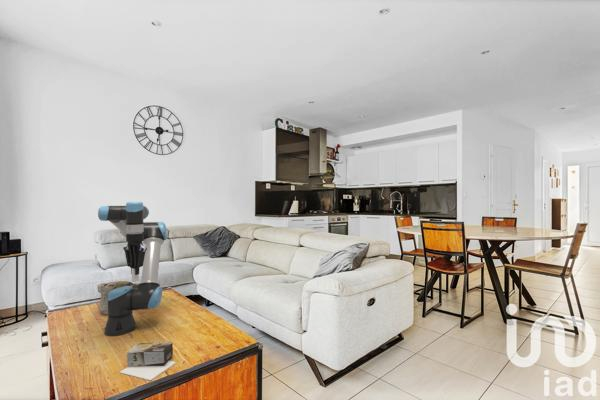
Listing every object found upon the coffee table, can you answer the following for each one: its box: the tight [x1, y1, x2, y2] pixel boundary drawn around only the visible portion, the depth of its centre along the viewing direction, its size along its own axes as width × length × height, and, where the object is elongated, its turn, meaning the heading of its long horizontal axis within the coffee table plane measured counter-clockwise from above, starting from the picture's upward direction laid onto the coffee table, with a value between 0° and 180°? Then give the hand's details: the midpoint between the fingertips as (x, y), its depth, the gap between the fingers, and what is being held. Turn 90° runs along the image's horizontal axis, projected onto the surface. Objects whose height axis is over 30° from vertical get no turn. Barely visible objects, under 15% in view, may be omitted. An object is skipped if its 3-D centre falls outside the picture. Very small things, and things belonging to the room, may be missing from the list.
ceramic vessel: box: [96, 280, 139, 316], centre depth 198 cm, size 23×24×25 cm
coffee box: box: [126, 342, 174, 367], centre depth 134 cm, size 9×6×16 cm
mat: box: [119, 360, 177, 382], centre depth 129 cm, size 17×14×1 cm
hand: (135, 281), depth 148 cm, fingers closed
